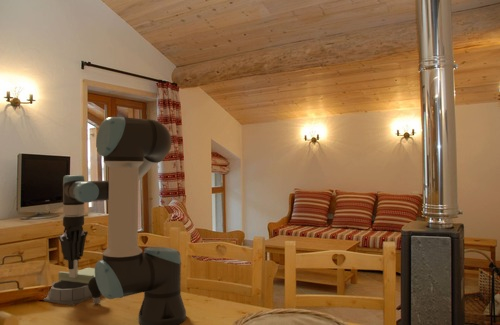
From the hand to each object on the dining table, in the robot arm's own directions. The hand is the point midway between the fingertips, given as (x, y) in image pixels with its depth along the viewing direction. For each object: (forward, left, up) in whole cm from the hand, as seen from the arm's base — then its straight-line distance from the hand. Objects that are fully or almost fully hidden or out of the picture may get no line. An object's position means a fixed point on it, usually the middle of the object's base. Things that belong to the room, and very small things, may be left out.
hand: (73, 276), depth 158 cm
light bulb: (-15, +5, -7) cm, 17 cm away
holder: (0, +1, -7) cm, 7 cm away
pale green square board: (0, -9, -2) cm, 9 cm away
